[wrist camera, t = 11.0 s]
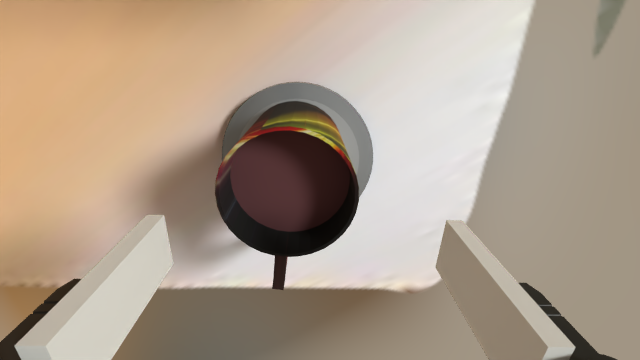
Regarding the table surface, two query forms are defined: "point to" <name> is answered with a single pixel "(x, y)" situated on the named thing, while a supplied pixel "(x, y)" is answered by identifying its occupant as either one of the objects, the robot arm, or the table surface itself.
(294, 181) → the mug
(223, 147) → the plate
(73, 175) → the table surface
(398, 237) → the table surface
